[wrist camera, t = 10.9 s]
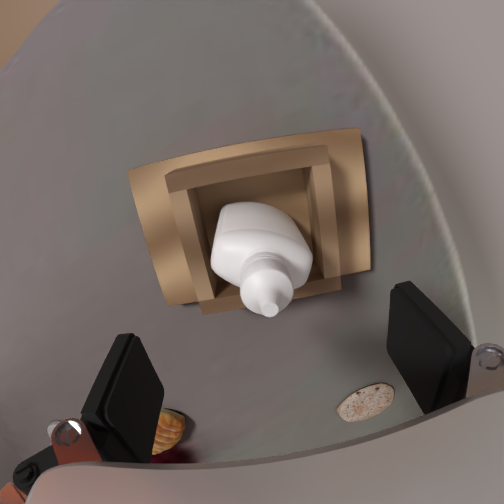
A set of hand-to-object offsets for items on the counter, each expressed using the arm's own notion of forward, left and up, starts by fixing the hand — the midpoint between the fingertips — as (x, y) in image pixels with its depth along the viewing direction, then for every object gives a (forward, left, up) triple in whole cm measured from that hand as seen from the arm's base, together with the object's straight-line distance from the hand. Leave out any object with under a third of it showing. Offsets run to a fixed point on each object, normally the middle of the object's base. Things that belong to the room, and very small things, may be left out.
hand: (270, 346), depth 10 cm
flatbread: (-27, -10, -16) cm, 33 cm away
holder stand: (0, 0, -16) cm, 16 cm away
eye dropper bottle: (0, 0, -14) cm, 14 cm away
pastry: (-25, +18, -16) cm, 35 cm away
